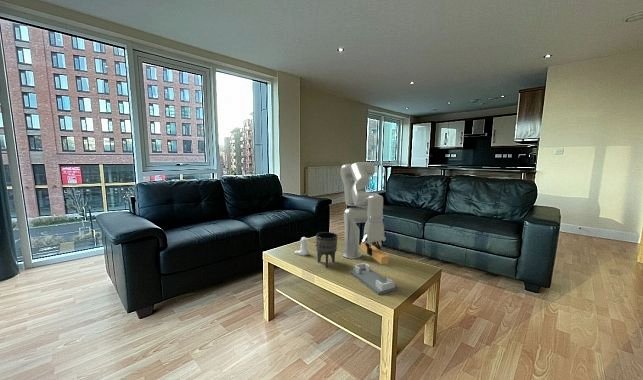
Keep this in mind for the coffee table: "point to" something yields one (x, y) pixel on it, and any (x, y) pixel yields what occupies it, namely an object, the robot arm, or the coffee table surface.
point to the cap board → (373, 279)
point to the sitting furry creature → (303, 247)
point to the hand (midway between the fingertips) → (373, 253)
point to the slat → (377, 254)
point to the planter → (326, 245)
